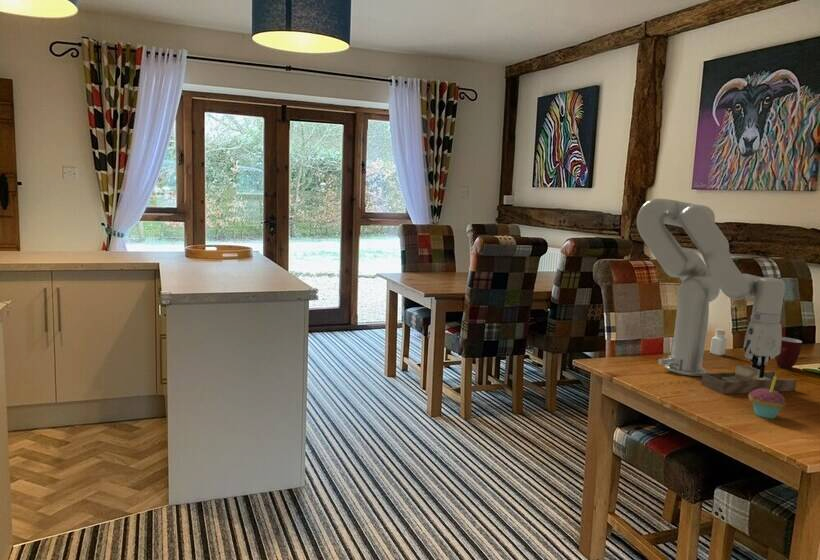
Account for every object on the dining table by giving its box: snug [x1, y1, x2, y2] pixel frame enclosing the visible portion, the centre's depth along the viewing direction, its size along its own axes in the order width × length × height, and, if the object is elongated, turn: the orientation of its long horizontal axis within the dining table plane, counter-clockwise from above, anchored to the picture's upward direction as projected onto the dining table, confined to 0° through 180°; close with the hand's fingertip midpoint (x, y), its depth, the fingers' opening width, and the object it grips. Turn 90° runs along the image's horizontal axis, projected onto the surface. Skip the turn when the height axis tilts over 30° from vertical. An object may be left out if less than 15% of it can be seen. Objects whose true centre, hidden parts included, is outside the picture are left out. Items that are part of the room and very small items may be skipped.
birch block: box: [734, 365, 760, 381], centre depth 181 cm, size 4×4×4 cm
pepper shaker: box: [709, 328, 728, 357], centre depth 222 cm, size 4×4×10 cm
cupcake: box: [747, 374, 786, 419], centre depth 158 cm, size 9×8×12 cm
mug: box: [774, 336, 803, 370], centre depth 208 cm, size 10×8×10 cm
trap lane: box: [700, 370, 797, 395], centre depth 183 cm, size 28×9×4 cm, turn 106°
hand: (756, 376), depth 183 cm, fingers closed
